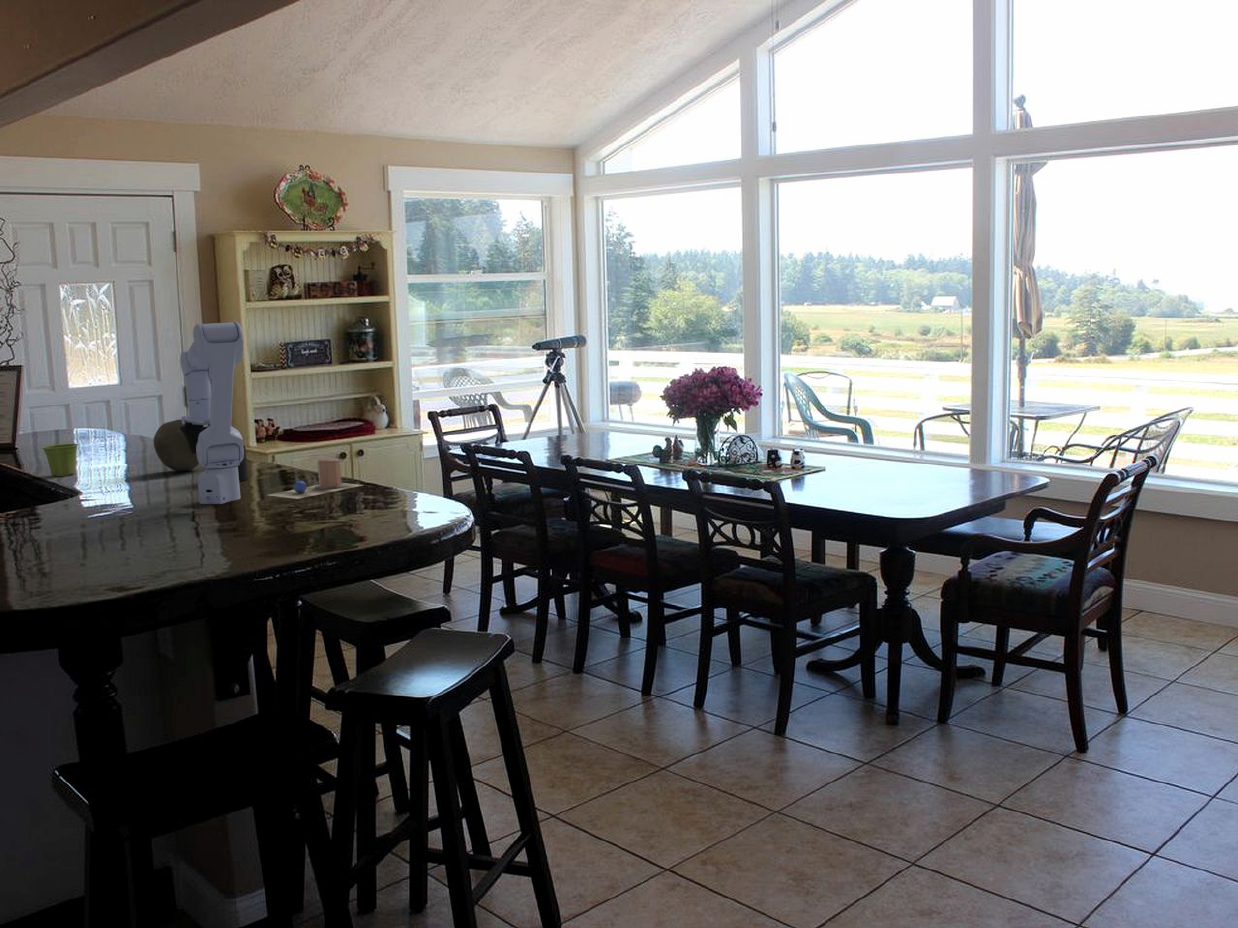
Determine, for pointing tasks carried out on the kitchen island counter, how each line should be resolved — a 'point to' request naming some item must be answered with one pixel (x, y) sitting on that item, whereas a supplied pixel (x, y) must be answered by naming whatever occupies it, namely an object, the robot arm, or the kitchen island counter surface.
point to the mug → (243, 468)
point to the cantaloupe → (174, 447)
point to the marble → (300, 486)
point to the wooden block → (329, 473)
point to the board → (313, 491)
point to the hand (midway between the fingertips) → (205, 453)
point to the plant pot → (61, 459)
